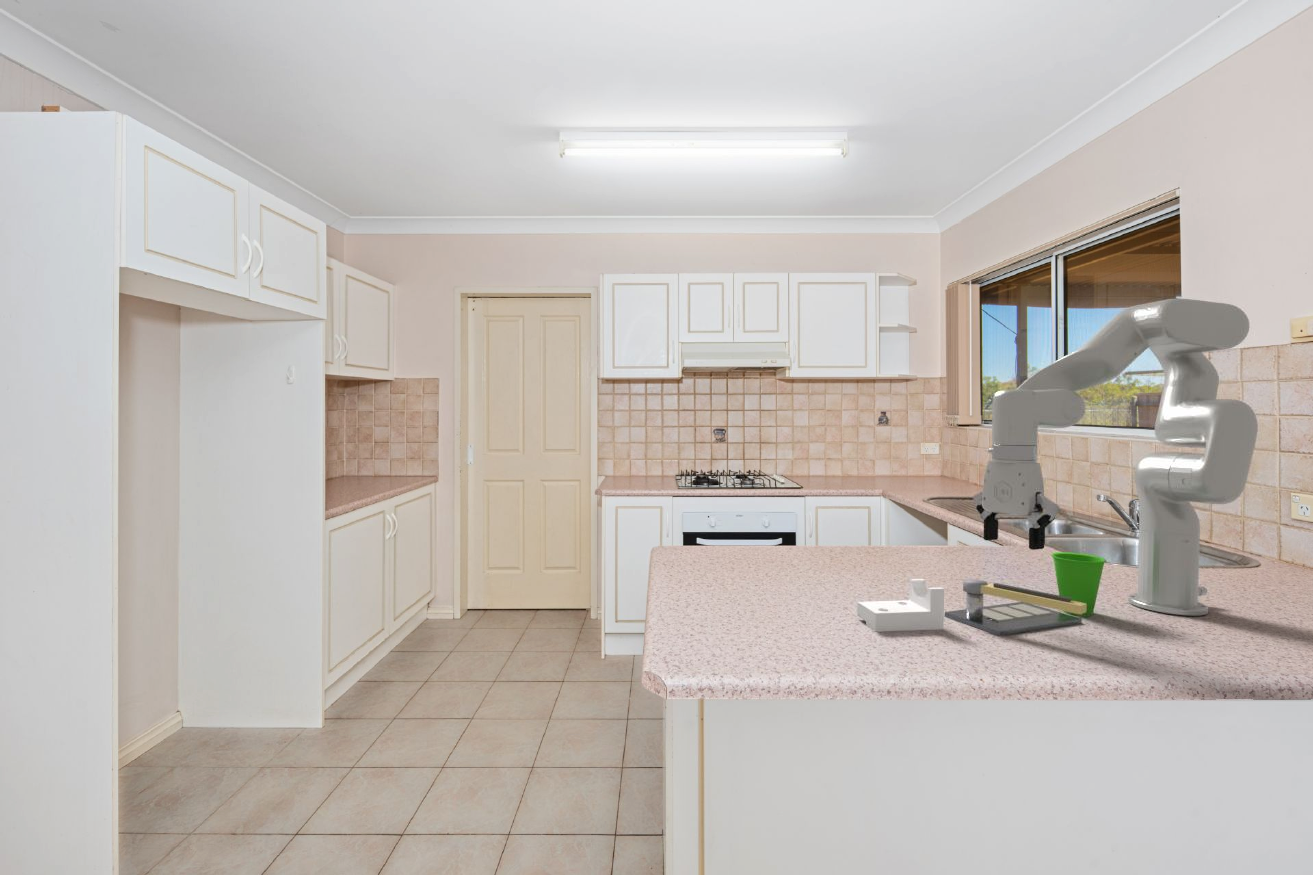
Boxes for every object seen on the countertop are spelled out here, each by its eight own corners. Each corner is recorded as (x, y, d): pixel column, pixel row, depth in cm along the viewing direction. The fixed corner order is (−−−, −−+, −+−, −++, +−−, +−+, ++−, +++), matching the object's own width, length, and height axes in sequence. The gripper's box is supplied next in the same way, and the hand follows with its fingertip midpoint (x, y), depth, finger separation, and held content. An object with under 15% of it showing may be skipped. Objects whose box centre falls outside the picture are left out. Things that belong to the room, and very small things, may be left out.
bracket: (921, 618, 119) (922, 579, 119) (943, 630, 112) (944, 588, 112) (857, 620, 117) (857, 580, 117) (875, 633, 110) (876, 590, 110)
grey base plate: (1022, 605, 127) (1023, 578, 127) (1081, 623, 116) (1082, 593, 116) (944, 616, 120) (945, 587, 119) (999, 636, 108) (1000, 604, 108)
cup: (1114, 620, 118) (1116, 563, 117) (1061, 617, 119) (1062, 560, 119) (1091, 607, 126) (1092, 553, 126) (1042, 604, 128) (1043, 551, 128)
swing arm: (958, 590, 116) (959, 578, 116) (969, 587, 118) (969, 575, 118) (1079, 616, 100) (1079, 603, 100) (1088, 612, 103) (1088, 599, 103)
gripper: (961, 452, 125) (960, 537, 125) (1043, 457, 109) (1041, 554, 109) (989, 452, 128) (988, 535, 128) (1072, 456, 112) (1070, 551, 112)
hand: (1012, 544), depth 119 cm, fingers open, 9 cm apart
